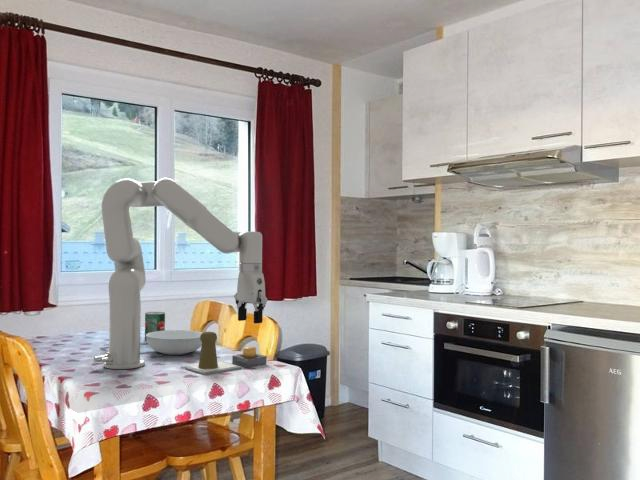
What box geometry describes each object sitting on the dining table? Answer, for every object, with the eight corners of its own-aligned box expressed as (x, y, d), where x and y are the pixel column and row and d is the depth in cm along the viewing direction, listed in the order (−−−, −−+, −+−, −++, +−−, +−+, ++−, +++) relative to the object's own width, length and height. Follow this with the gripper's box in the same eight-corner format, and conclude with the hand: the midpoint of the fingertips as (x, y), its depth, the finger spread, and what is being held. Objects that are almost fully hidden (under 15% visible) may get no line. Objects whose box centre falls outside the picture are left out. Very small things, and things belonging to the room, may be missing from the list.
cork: (220, 365, 188) (220, 330, 188) (214, 369, 182) (215, 333, 182) (201, 364, 189) (202, 330, 189) (195, 368, 183) (196, 333, 183)
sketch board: (204, 375, 178) (204, 372, 178) (185, 369, 186) (185, 366, 186) (242, 368, 188) (242, 365, 188) (222, 363, 196) (222, 360, 196)
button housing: (247, 367, 189) (247, 359, 189) (232, 363, 195) (232, 355, 195) (266, 364, 195) (266, 356, 195) (251, 360, 201) (251, 352, 201)
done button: (248, 359, 192) (248, 349, 192) (240, 357, 195) (240, 347, 195) (258, 357, 195) (259, 348, 195) (250, 355, 198) (250, 346, 198)
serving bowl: (190, 360, 201) (191, 339, 201) (134, 356, 205) (135, 337, 205) (213, 349, 221) (214, 331, 221) (162, 346, 225) (162, 328, 225)
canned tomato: (143, 338, 242) (143, 312, 242) (162, 337, 245) (163, 311, 245) (146, 341, 235) (146, 314, 235) (166, 340, 238) (166, 313, 238)
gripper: (276, 269, 191) (275, 323, 191) (243, 267, 204) (243, 318, 204) (258, 270, 186) (257, 325, 186) (225, 268, 199) (225, 320, 199)
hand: (250, 321), depth 195 cm, fingers open, 7 cm apart
